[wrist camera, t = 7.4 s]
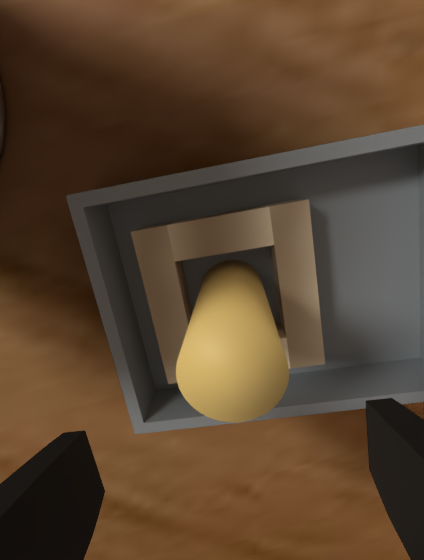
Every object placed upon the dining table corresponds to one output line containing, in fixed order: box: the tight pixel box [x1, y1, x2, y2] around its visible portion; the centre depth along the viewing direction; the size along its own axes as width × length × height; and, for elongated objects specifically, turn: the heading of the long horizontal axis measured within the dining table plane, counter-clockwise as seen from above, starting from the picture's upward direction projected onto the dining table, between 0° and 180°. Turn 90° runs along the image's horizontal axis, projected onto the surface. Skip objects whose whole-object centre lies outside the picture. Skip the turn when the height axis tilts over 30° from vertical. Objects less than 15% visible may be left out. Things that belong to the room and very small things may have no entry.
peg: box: [176, 260, 289, 422], centre depth 13 cm, size 3×3×8 cm
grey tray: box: [65, 125, 424, 434], centre depth 15 cm, size 16×12×3 cm
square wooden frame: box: [131, 199, 325, 384], centre depth 16 cm, size 8×8×2 cm
